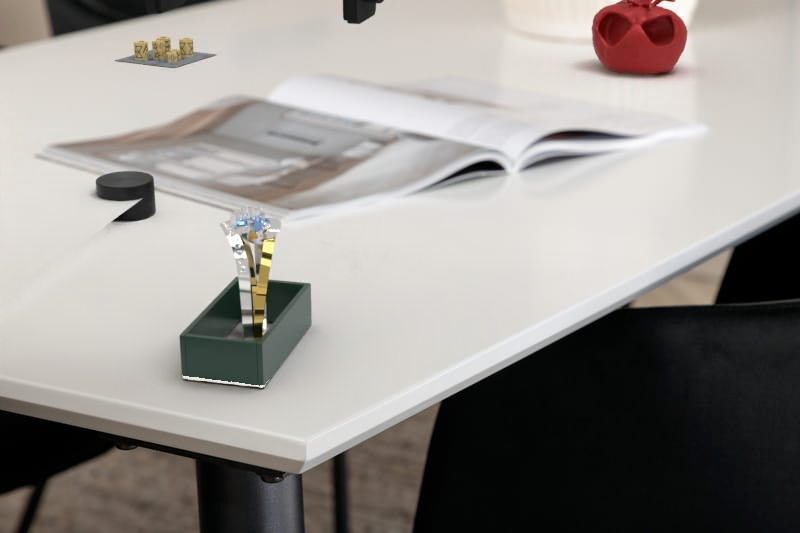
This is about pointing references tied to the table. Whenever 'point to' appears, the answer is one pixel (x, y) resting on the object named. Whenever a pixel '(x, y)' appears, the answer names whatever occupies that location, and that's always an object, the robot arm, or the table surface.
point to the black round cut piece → (129, 192)
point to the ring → (252, 264)
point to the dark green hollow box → (245, 358)
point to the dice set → (165, 53)
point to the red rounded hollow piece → (638, 37)
